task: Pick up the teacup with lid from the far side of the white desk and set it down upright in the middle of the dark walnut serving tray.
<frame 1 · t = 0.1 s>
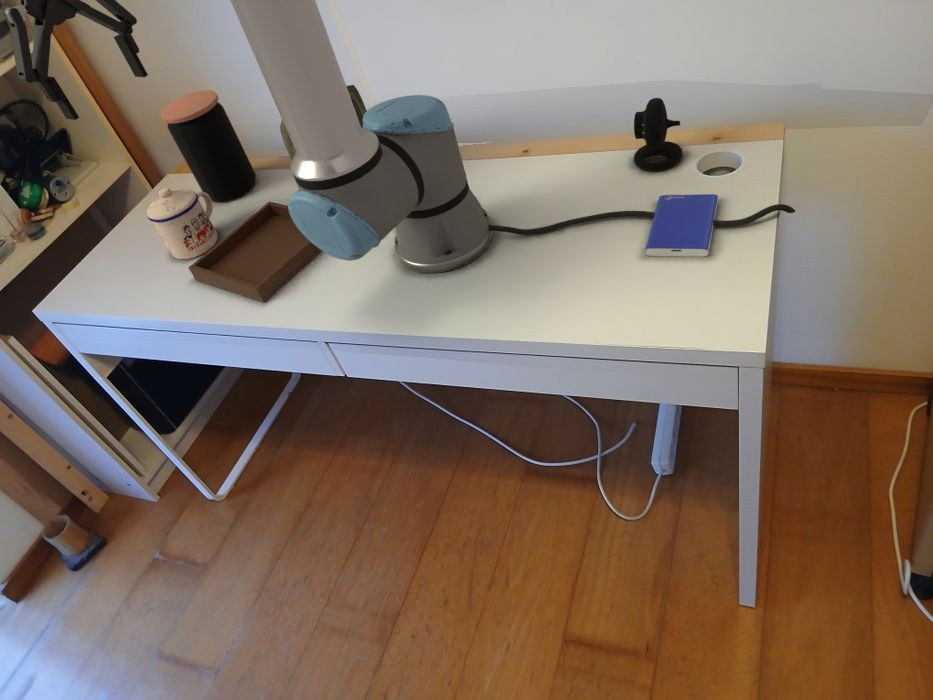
hand: (108, 96, 120), 28 cm above the table, tool pointing down, fingers open, 13 cm apart
tray: (270, 255, 128), on the table
coffee jar: (232, 189, 150), on the table
green bell: (350, 191, 138), on the table
webcam: (658, 160, 121), on the table
hard drive: (682, 230, 107), on the table
teacup with lid: (201, 241, 138), on the table
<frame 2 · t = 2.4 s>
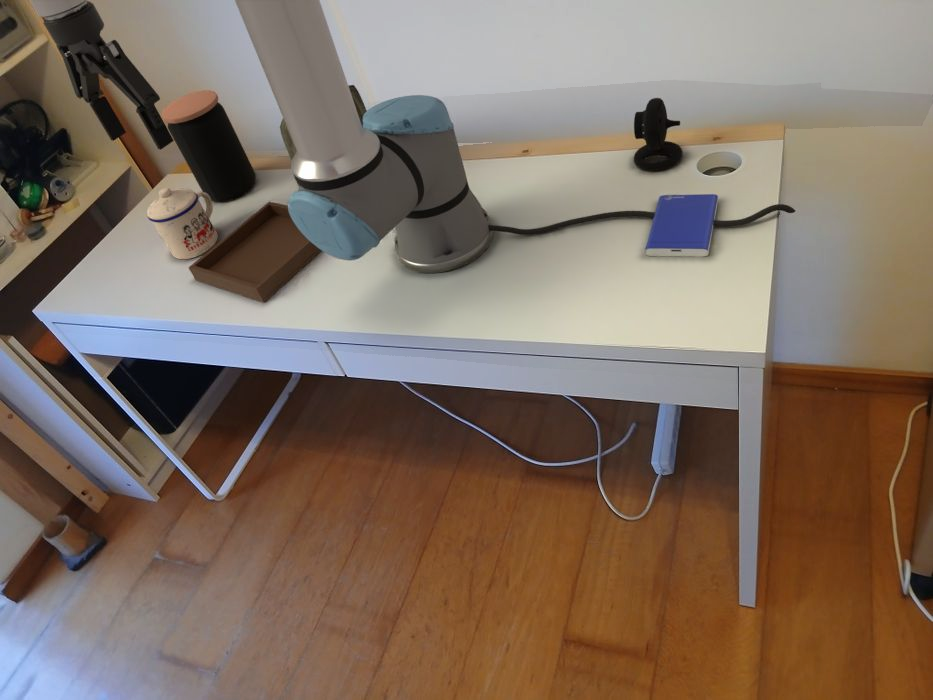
hand: (141, 140, 124), 20 cm above the table, tool pointing down, fingers open, 13 cm apart
nothing on the table moved.
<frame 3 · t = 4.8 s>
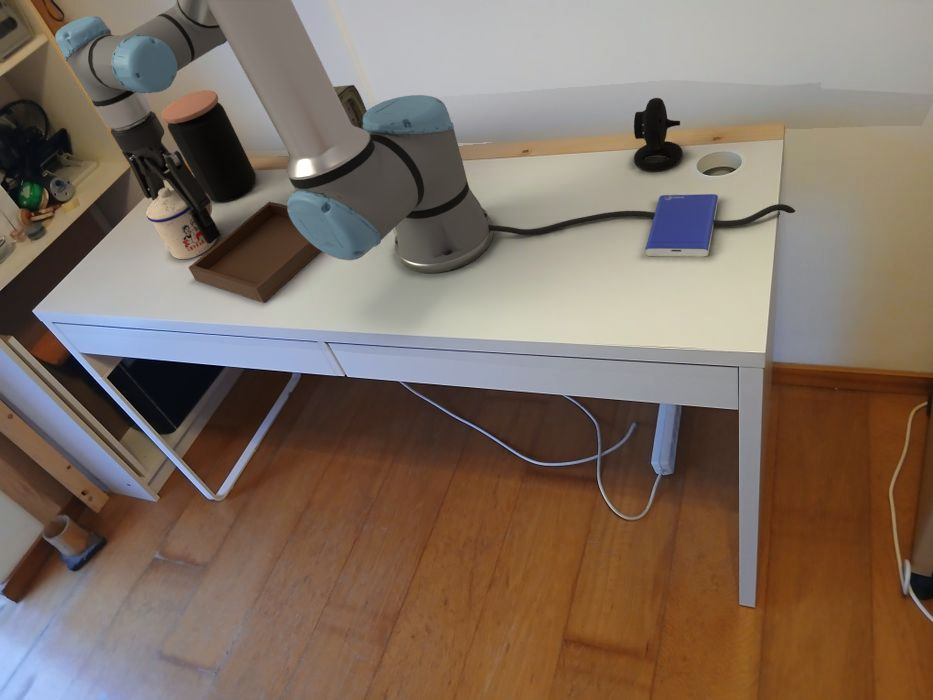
hand: (197, 234, 136), 1 cm above the table, tool pointing down, fingers closed on teacup with lid, 9 cm apart
teacup with lid: (200, 241, 138), on the table, touching gripper
everything else where it was.
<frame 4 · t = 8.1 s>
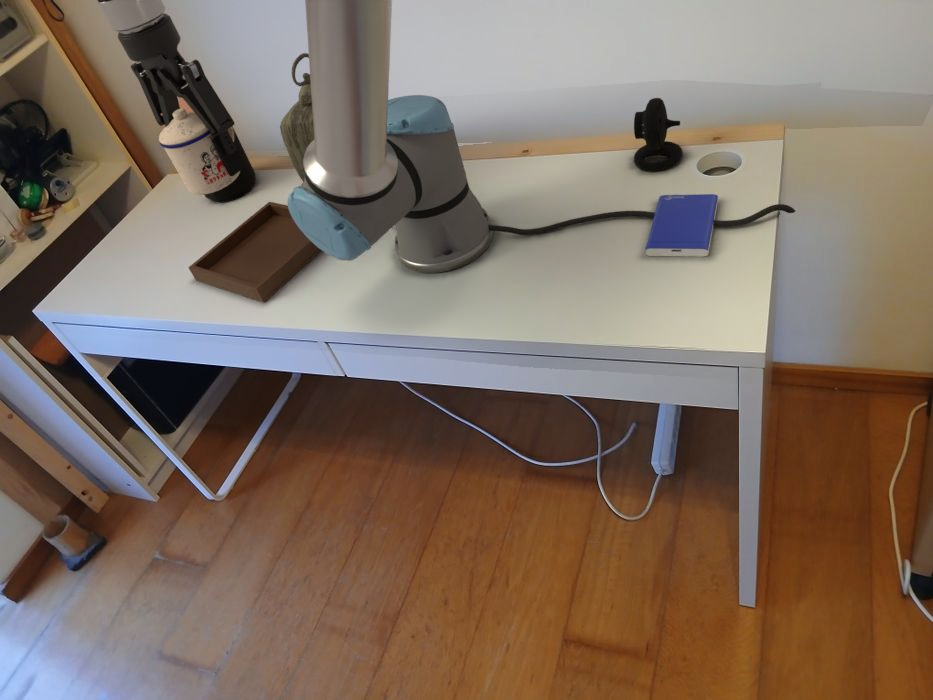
hand: (218, 167, 118), 17 cm above the table, tool pointing down, fingers closed on teacup with lid, 9 cm apart
teacup with lid: (221, 176, 119), point 15 cm above the table, touching gripper
everything else where it was.
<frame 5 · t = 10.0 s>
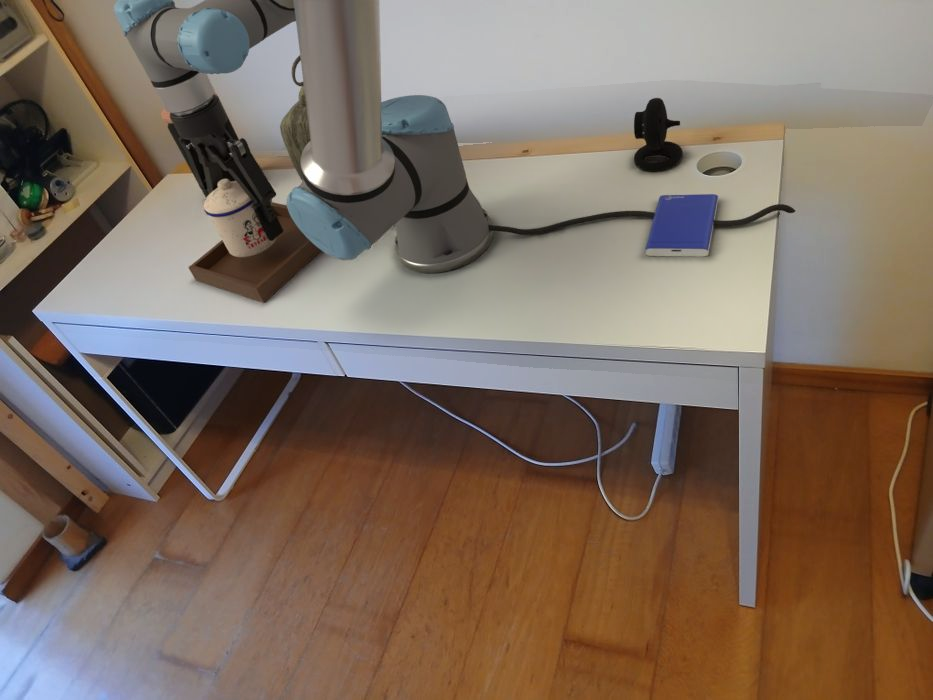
hand: (257, 230, 125), 5 cm above the table, tool pointing down, fingers closed on teacup with lid, 9 cm apart
teacup with lid: (259, 237, 126), point 4 cm above the table, touching gripper
everything else where it was.
when the fingers open (2 cm above the table, at t = 11.4 s): teacup with lid stays where it is, resting on tray.
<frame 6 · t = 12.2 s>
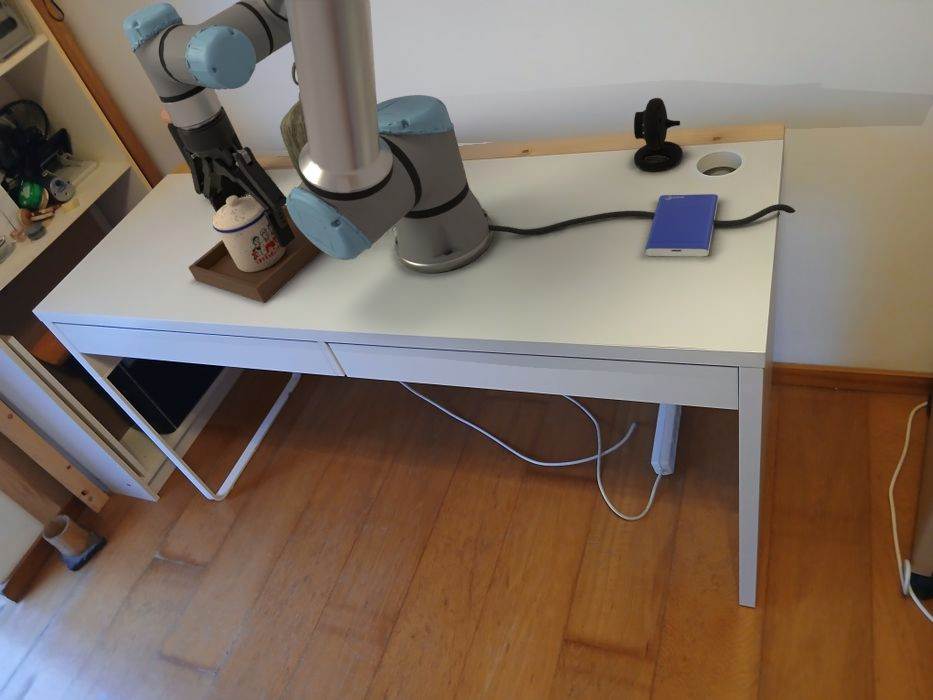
hand: (260, 235, 125), 4 cm above the table, tool pointing down, fingers open, 13 cm apart
teacup with lid: (267, 252, 128), resting on tray
everything else where it was.
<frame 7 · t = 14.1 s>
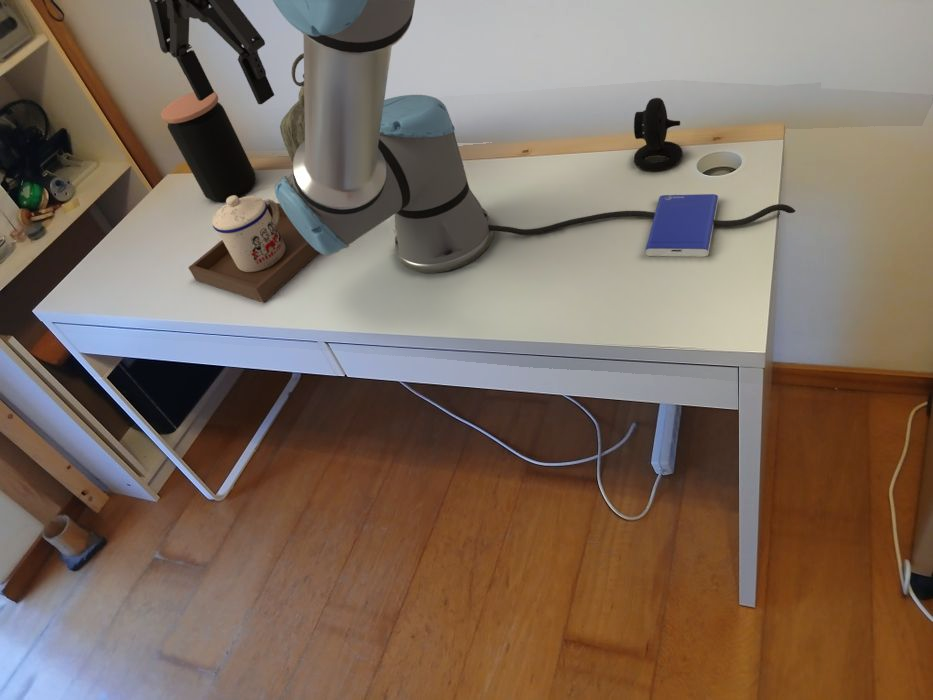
hand: (235, 98, 111), 26 cm above the table, tool pointing down, fingers open, 13 cm apart
nothing on the table moved.
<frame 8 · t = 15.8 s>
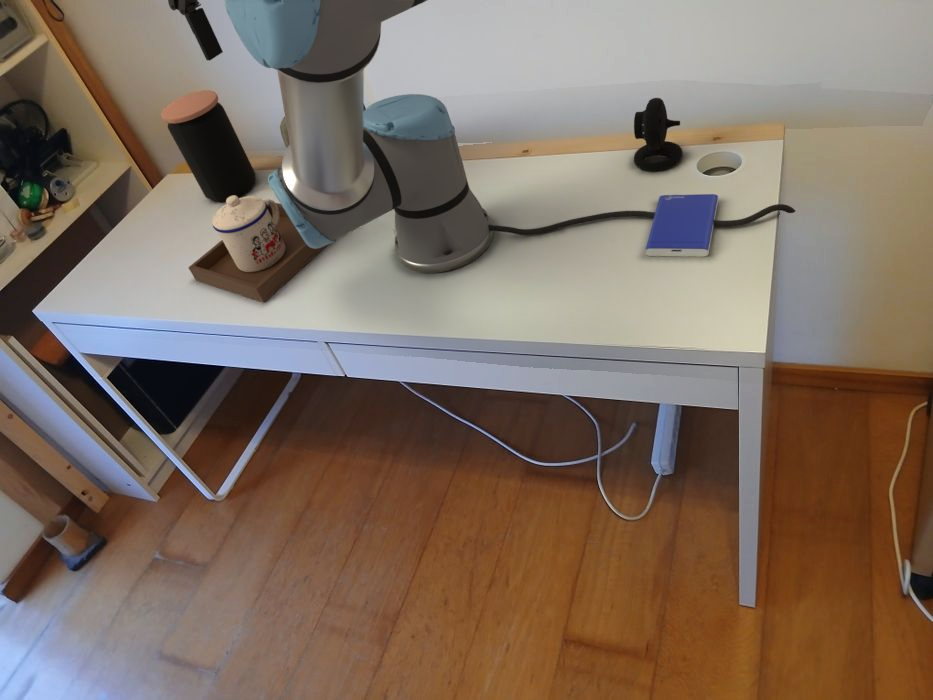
hand: (244, 58, 109), 31 cm above the table, tool pointing down, fingers open, 13 cm apart
nothing on the table moved.
at the end: teacup with lid inside the target area in the tray (0.5 cm from its centre), point 0.4 cm above the tray's base; teacup with lid tilted 0°; the gripper is holding nothing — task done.
